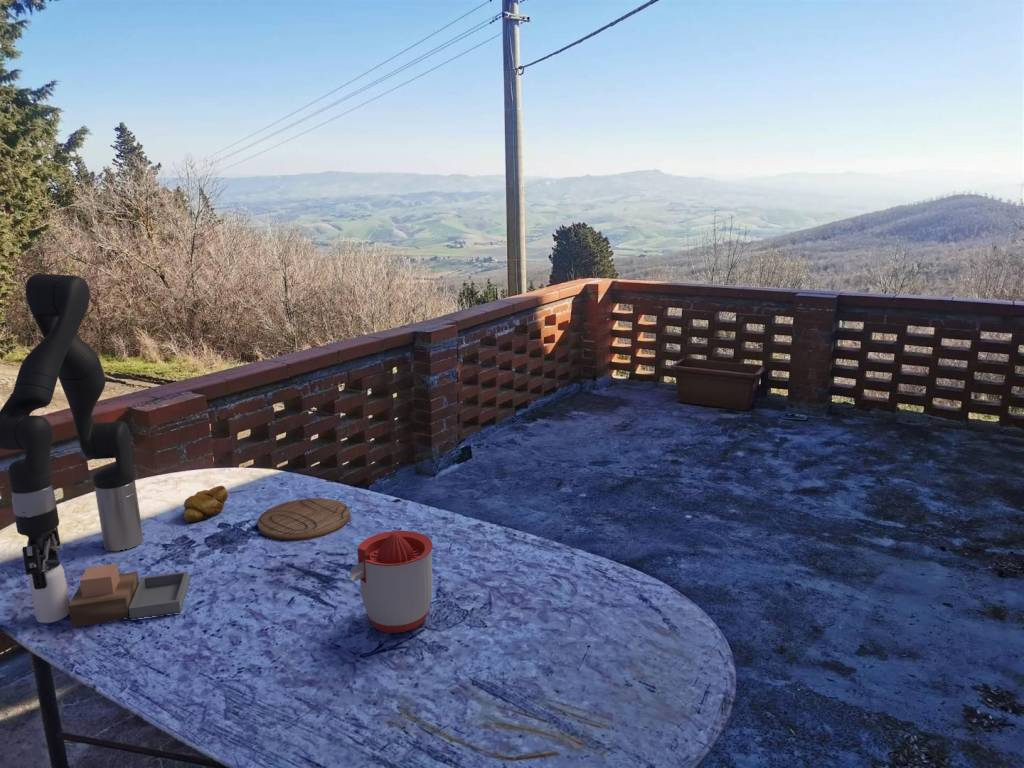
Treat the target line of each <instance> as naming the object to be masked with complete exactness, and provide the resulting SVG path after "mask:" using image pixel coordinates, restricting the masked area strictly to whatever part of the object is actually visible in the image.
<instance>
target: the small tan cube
mask: <svg viewBox="0 0 1024 768" xmlns="http://www.w3.org/2000/svg"><path fill="white" fill-rule="evenodd" d="M119 574H120V572H119V565H118V563H112V564H111V563H110V564H104V565H97V566H89V567H88V566H87V568H86V569H85V571H84V573H83V574H82V576H81V577H80V580H79V586H80V585H81V591H82V597H89V596H97V595H104V594H111V593H114V591H115V589H116V587H117V585H118V583H119V581H120V578H119Z"/></svg>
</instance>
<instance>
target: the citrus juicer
mask: <svg viewBox="0 0 1024 768" xmlns="http://www.w3.org/2000/svg"><path fill="white" fill-rule="evenodd" d="M433 545H434V544H433V542H432V540H431V538H429V537H428V536H427V535H426V534H423V533H420V532H416V531H411V530H410V531H409V530H391V531H384V532H380V533H377V534H373V535H372V536H369V537H367V538H365V539H364V540H362V542H360V543H359V545H358V547H357V562H358V563H357V564H355V565H353V566H352V568H351V569H350V573H349V578H350V580H351V581H352V582H355V581H359V582H360V583H359V584H360V592H361V593H360V594H361V599H362V603H363V606H364V609H365V612H366V615H367V618H368V620H369V621H370V623H371V624H372V626H373V627H374V628H375V629H377V630H379V631H381V632H383V633H391V634H392V633H393V634H396V633H397V634H398V633H405V632H409V631H412V630H414V629H416V628H419V627H420V626H421V625H422V624H423V623H424V621H425V620H426V619H427V616H428V614H429V611H430V606H431V601H432V598H433V590H434V589H433V585H434V583H433V559H432V557H433V555H432V550H433Z"/></svg>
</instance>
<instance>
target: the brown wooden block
mask: <svg viewBox="0 0 1024 768" xmlns="http://www.w3.org/2000/svg"><path fill="white" fill-rule="evenodd" d="M119 578H120V581H119V583H118V585H117V587H116V589H115V591H114V593H111V594H104V595H97V596H89V597H82V591H81V585H80V584H79V586H78V588H77V590H76V591H75V593H74V595H73V597H72V598H71V600H70V601H69V602H70V604H69V605H68V608H69V618H70V619H69V620H70V624H71V625H70V626H71V628H74V627H82V626H90V625H95V624H96V625H97V624H102V623H103V622H104V623H109V621H111V622H115V621H114V620H118V621H121V620H120V619H124V618H129V616H130V614H129V606H130V604H131V602H132V599H133V597H134V594H135V592H136V590H137V587H138V585H139V582H140V581H139V576H138V571H133V572H125V573H124V572H123V573H119ZM129 619H130V618H129Z"/></svg>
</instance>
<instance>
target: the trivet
mask: <svg viewBox="0 0 1024 768" xmlns="http://www.w3.org/2000/svg"><path fill="white" fill-rule="evenodd" d="M350 511H351V510H350V507H349V506H348V505H347V504H346V503H343V502H342V501H339V500H336V499H331V498H320V497H319V498H318V497H317V498H316V497H314V498H302V499H295V500H291V501H290V500H289V501H287V502H283V503H279V504H277V505H274V506H273V507H271V508H268V509H266V511H264V512H263V513H261V515H260V516H259V517H258V520H257V528H258V531H259V532H260V533H261V535H263V536H265V537H267V538H269V539H273V540H277V541H286V542H290V541H293V542H294V541H306V540H312V539H313V540H314V539H317V538H321V537H324V536H327V535H330V534H334V533H336V532H338V531H339V530H341V529H342V528H343V529H344V527H345V526H346V525H347V524H348V523H349V522H350V519H351V512H350Z"/></svg>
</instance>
